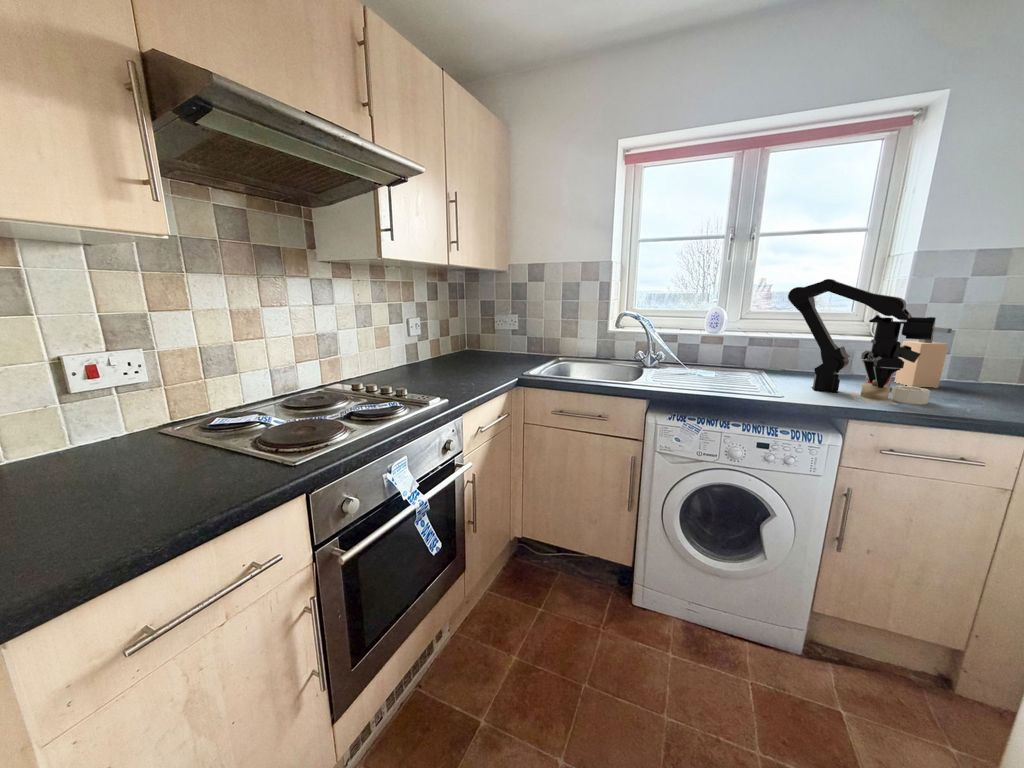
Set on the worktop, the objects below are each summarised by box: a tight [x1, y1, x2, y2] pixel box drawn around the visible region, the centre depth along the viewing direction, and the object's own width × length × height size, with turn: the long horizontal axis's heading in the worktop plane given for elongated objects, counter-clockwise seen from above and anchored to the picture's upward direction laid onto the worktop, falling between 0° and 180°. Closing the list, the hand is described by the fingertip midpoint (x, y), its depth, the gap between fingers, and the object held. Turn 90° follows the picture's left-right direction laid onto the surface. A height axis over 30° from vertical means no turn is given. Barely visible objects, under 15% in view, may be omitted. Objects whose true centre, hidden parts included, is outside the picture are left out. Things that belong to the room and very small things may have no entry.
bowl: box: [889, 384, 931, 405], centre depth 128 cm, size 8×8×4 cm
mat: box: [845, 389, 899, 406], centre depth 133 cm, size 10×16×1 cm, turn 152°
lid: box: [860, 380, 891, 400], centre depth 131 cm, size 7×7×6 cm
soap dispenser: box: [894, 326, 953, 389], centre depth 147 cm, size 13×9×22 cm
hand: (875, 385), depth 131 cm, fingers open, 9 cm apart
